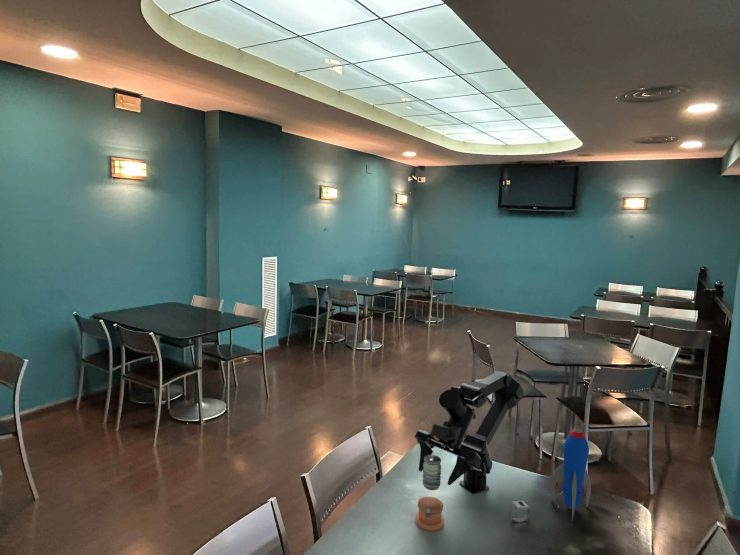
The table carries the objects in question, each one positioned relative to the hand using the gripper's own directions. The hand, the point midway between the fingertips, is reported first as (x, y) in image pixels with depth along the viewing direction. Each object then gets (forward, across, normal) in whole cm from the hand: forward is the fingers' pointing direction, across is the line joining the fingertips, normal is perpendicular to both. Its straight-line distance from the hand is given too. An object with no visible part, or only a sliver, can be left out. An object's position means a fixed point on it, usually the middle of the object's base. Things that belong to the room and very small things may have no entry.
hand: (433, 477), depth 121 cm
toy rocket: (-12, +26, +30) cm, 42 cm away
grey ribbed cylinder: (+2, 0, +1) cm, 2 cm away
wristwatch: (-3, +17, +20) cm, 27 cm away
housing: (+9, 0, +8) cm, 12 cm away
